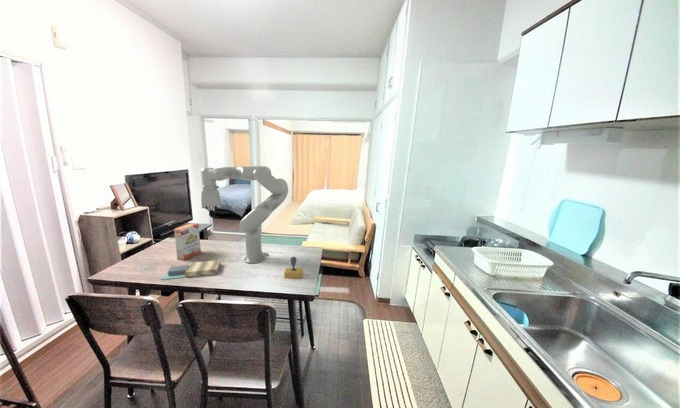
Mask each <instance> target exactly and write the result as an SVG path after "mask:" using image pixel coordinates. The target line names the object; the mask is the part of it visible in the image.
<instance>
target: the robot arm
mask: <svg viewBox="0 0 680 408" xmlns="http://www.w3.org/2000/svg"><path fill="white" fill-rule="evenodd" d="M200 175H201V185H202V190H201V193H200V195H201V196H200V197H201V199H200V201H201V208H202V209H206V210H207V211H208V216H210V218H214V217H215V216H216V210H217V209H219V208H221V207H222V205H221V195H220V192H219V189H220V186H219V185H217V181H218V182H222V181H225V180H229V179H230V180H231V179H232V180H234V179H235V180H236V179H238V180H243V181H248V182H249V181H256V182H257V183H259V185H261V186H262V187H263V188H265V189H266V190H267V191H268V192H269V193H271V194H270V195H269V196H268V197H267V198H265V200H264V201H262V202H260V203H259V204H258V205H256V206H255V207H254V208H253V209H252V210H251V211H250V212H248V213H247V214H246V215H245V216H243V218H242V219H241V220H240V221H239V229H240V230H241V231H242V232H244V233H245V234H244V235H245V237H244V238H245V250H246V251H245V252H246V253H245V254H246V256H245V257H244V258H243V260H244V262H245V263H246V264H258V263H259V264H260V262H262V261H264V260H265V257H270V255H269V254H270V253H268V252H263V250H262V224H263V223H264V222H265V221H266V220H267V219H268V218H269V217H270V216H271V214H272V213H274V212H275V210H276V209H277V208H279V206H281V205H282V204H283V203H284V202H285V201H286V198H287V197H288V193H289V185H288V183H287V181H286V180H285V179H284V178H279V177H278V178H276V177H275V176H273V175H272V170H271V169H270V167H268V166H263V165H262V166H259V165H258V166H257V165H256V166H223V167H219V168H213V167H203V168H202V167H201V169H200Z"/></svg>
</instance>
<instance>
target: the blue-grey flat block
mask: <svg viewBox="0 0 680 408" xmlns="http://www.w3.org/2000/svg"><path fill="white" fill-rule="evenodd" d="M189 266H190V264H188V265H187V264H186V265H176V266H171V267H170V268H169V269H170V270H168V271H167V272H168V276H171V275H180V274H185V272H186V270H187V269H188V267H189Z"/></svg>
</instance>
